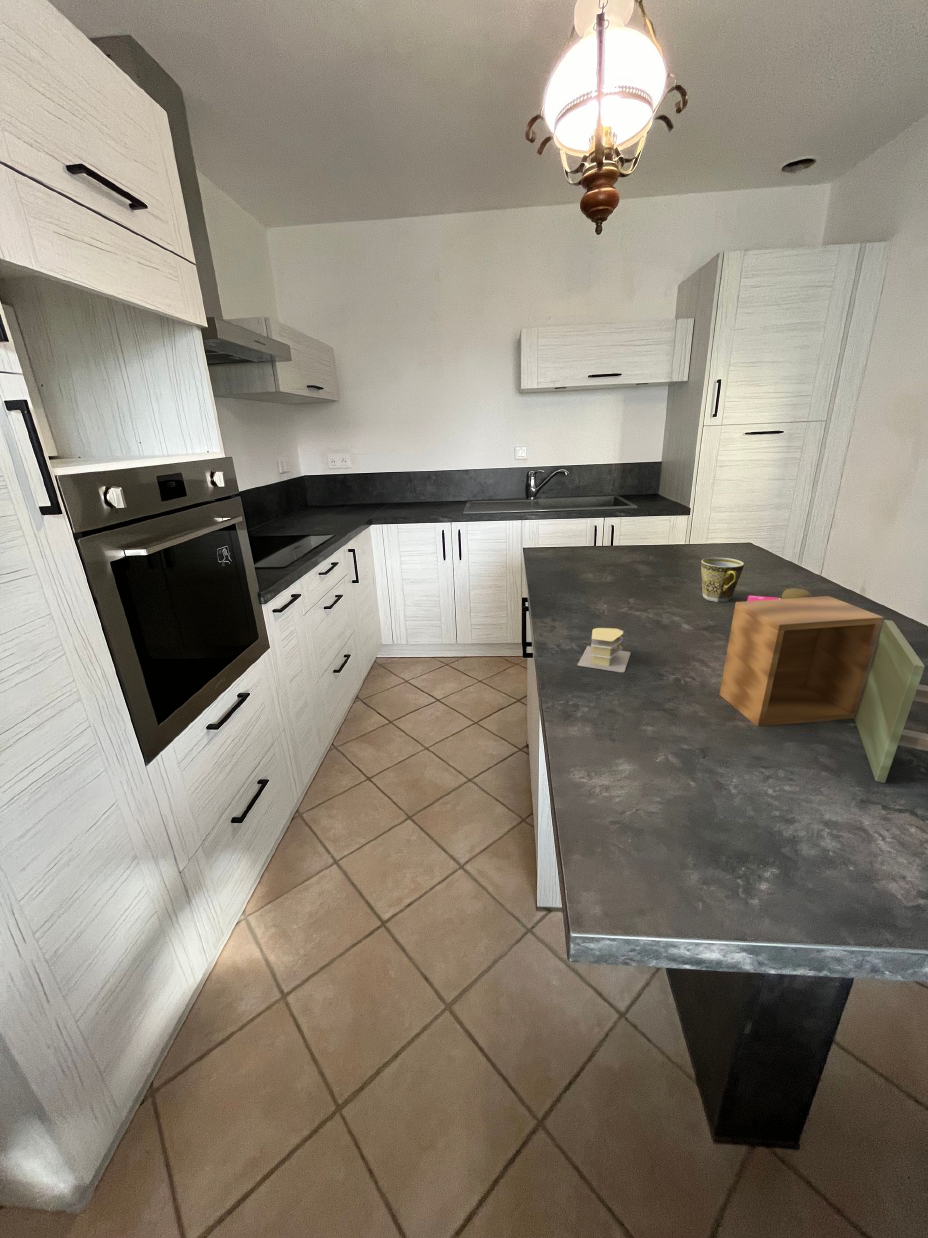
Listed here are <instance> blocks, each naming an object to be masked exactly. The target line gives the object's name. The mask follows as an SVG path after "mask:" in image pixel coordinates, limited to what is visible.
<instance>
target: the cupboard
mask: <svg viewBox="0 0 928 1238" xmlns="http://www.w3.org/2000/svg"><path fill="white" fill-rule="evenodd" d="M884 619H885V618H884V616H881V615H879V614H877V613H874V612H871V611H869V610H866V609H864V608H861V607H858V606H856V605H853V604H851V603H848V602H845V601H843V600H840V599H838V598H835V597H832V596H830V595H823V596H812V597H805V598H790V599H782V598H780V599H775V600H760V601H747V600H746V601H736V602H735V603H734V610H733V616H732V622H731V625H730V626H731V627H730V631H729V638H728V644H727V649H726V655H725V661H724V667H723V672H722V677H721V682H720V683H721V684H720V689H719V696H721V697H722V698H723V699H724V700H725V701H727V702H728V703H729V704H730V705H731V706H732V707H733V708H735V709H736V710H737V711H738V712H739V713H740V714H741V715H742V716H744V717H745V718H747V720H749V721H750V722H751V723H752V724H754V725H755V726H756V727H768V726H769V727H770V726H781V725H782V726H783V725H792V724H793V725H794V724H802V723H812V722H813V723H815V722H824V721H825V722H826V721H836V720H847V719H855V716H856V712H857V709H858V706H859V702H860V699H861V696H862V692H863V689H864V686H865V682H866V679H867V675H868V672H869V669H870V665H871V662H872V659H873V655H874V652H875V649H876V645H877V642H878V638H879V635H880V632H881V628H882V625H883V622H884Z"/></svg>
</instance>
